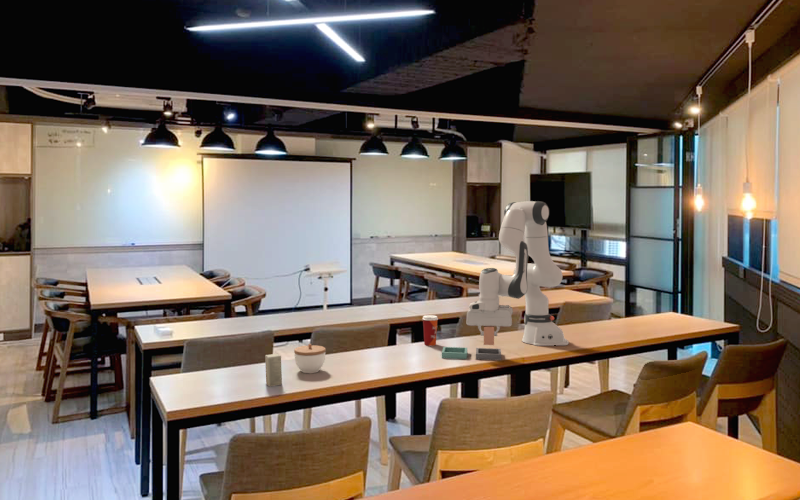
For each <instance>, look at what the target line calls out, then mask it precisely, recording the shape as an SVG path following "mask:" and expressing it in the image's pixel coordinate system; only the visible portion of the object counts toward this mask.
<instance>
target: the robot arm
mask: <svg viewBox="0 0 800 500" xmlns="http://www.w3.org/2000/svg"><path fill="white" fill-rule="evenodd" d="M549 216H550V208H549V206H548V204H547V203H546V202H544V201H539V200H537V201H536V200H535V201H533V200H526V201H518V202H509V203H508V204H507V205H506V206H505V208H504V211H503V218H502V223H501V225H500V230H499V232H498V233H499V234H498V241H499V244H500V245H501V246H502V247H503V248H504V249H505V250H506V251H508V252H511V253H513V254H514V255H515V268H514V270H513V275H511V274H502V273H500V272H499V271H498V269H497V268H494V267H488V268H487V267H486V268H484V269H482V270H481V271H480V274H479V281H478V282H479V283H478V289H479V297H478V300H476V301H473V302H470V303H469V305H468V310H467V312H466V319H465V320H466V321H465V322H466V323H465V324H466V325H467V326H472V327H473V326H477V329H478V330H479V332H480V336H483V337H484V330H482V326H483V327H484V326H494V327H496V330H494V337H497V336H498V333H499V331H500V330H501V327H511V326H512V325H513V320H512V315H513V313H514V312H513V310H514V309H513V307H512V306H511V305H508V304H507V305H504V304H502V305H501V304H500V296H502V297H506V298H507V297H509V298H513V299H516V300H519V299H521V298H523V297H524V299H525V313H524V317H523V318H524V321H523V322H524V330H523V336H522V339H521V341H522V342H523V343H525V344H531V345H534V346H539V347H540V346H544V347H545V346H546V347H547V346H549V347H550V346H551V347H553V346H554V345H556V346H568V345H569V343H570V342H569V340H568V339H566V338H565V334H564V331H563V329H562V328H560V327H559V326H558V325H557V324H556V323H554V322H553V321H554V320H555V317H554V316H553V315H552V314H550V313H549V298H548V296H547V295H546V294H544V293H543V292H542V290H541V287H544V288H553V287H557V286H559V285H560V284H561V283H562V281H563V271H562V270H561V268H560V267H559V266H557V264H556V263H555V262H554V260H553V259H552V257H551V256H552V255H551V254H550V249H549V236H548V225H547V221H548V219H549ZM528 256H529V257H530V258H531V259H532V261H533V263H532V262H531V263H528V262H529V261H528V260H529V259H528V258H529V257H528Z"/></svg>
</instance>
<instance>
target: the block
mask: <svg viewBox="0 0 800 500" xmlns="http://www.w3.org/2000/svg"><path fill="white" fill-rule="evenodd" d="M483 331H484V336H483V346H494V345H495V336H494V331H495V326H483Z"/></svg>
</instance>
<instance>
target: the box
mask: <svg viewBox="0 0 800 500" xmlns="http://www.w3.org/2000/svg"><path fill="white" fill-rule="evenodd" d="M264 363H265V384H266V385H267V386H268V387H276V386H280V385H282V384H283V377H282V376H283V375H282V373H283V372H282V355H280V354H279V353H272V354H265V361H264Z"/></svg>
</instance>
